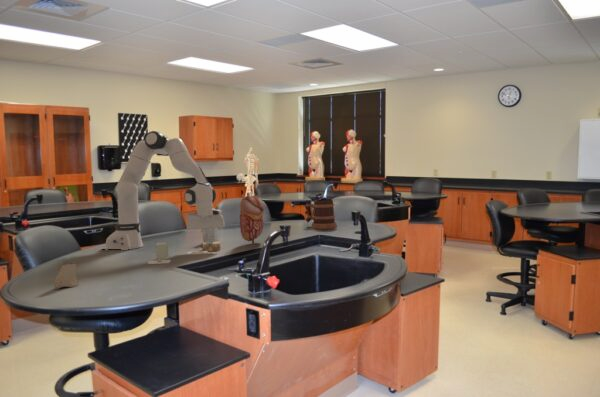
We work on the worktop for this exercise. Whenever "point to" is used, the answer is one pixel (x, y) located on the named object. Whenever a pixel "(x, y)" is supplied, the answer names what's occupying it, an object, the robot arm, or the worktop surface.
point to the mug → (321, 213)
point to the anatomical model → (251, 217)
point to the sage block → (162, 251)
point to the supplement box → (211, 235)
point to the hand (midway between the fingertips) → (206, 236)
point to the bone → (66, 276)
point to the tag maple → (197, 252)
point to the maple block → (211, 246)
